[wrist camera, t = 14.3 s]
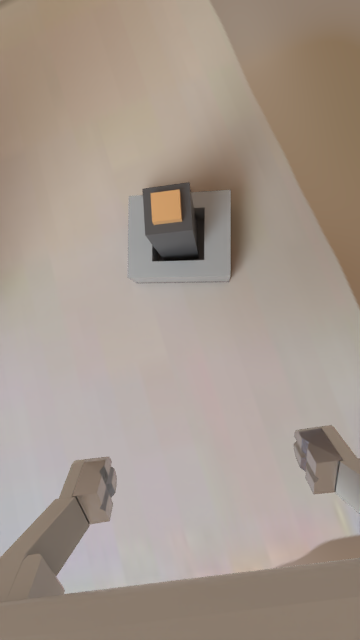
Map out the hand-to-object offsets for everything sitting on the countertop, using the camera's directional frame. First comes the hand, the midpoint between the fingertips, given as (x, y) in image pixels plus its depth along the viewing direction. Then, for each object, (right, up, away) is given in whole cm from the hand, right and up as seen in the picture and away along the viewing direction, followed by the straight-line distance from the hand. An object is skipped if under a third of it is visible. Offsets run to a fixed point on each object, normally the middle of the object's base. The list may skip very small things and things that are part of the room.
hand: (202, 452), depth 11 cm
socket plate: (-1, +15, +20) cm, 25 cm away
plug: (-1, +15, +19) cm, 24 cm away
